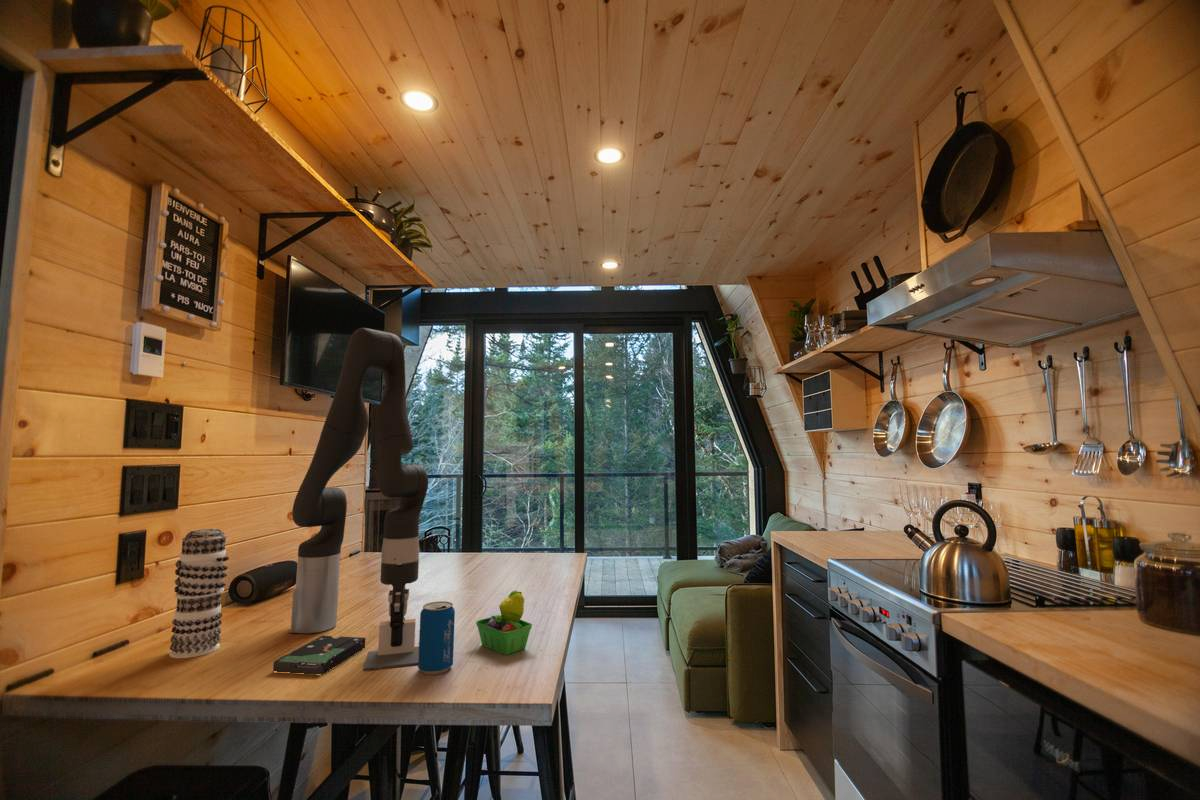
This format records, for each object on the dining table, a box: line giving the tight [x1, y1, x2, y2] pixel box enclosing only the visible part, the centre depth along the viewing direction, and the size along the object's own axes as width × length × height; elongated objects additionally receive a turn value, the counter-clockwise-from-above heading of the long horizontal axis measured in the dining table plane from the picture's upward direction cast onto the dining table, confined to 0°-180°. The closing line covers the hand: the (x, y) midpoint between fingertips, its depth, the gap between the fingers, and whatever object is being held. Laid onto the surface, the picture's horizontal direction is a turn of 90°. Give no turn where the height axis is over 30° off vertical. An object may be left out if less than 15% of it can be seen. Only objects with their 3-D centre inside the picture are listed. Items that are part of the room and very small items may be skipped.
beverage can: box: [417, 600, 456, 676], centre depth 102 cm, size 6×6×12 cm
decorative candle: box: [168, 528, 230, 659], centre depth 111 cm, size 9×9×25 cm
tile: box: [377, 618, 417, 655], centre depth 109 cm, size 7×2×6 cm, turn 108°
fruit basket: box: [475, 590, 533, 656], centre depth 114 cm, size 11×9×11 cm
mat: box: [362, 646, 419, 671], centre depth 106 cm, size 11×9×1 cm
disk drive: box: [272, 635, 366, 676], centre depth 106 cm, size 10×3×15 cm
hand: (396, 643), depth 109 cm, fingers closed on tile, 2 cm apart
